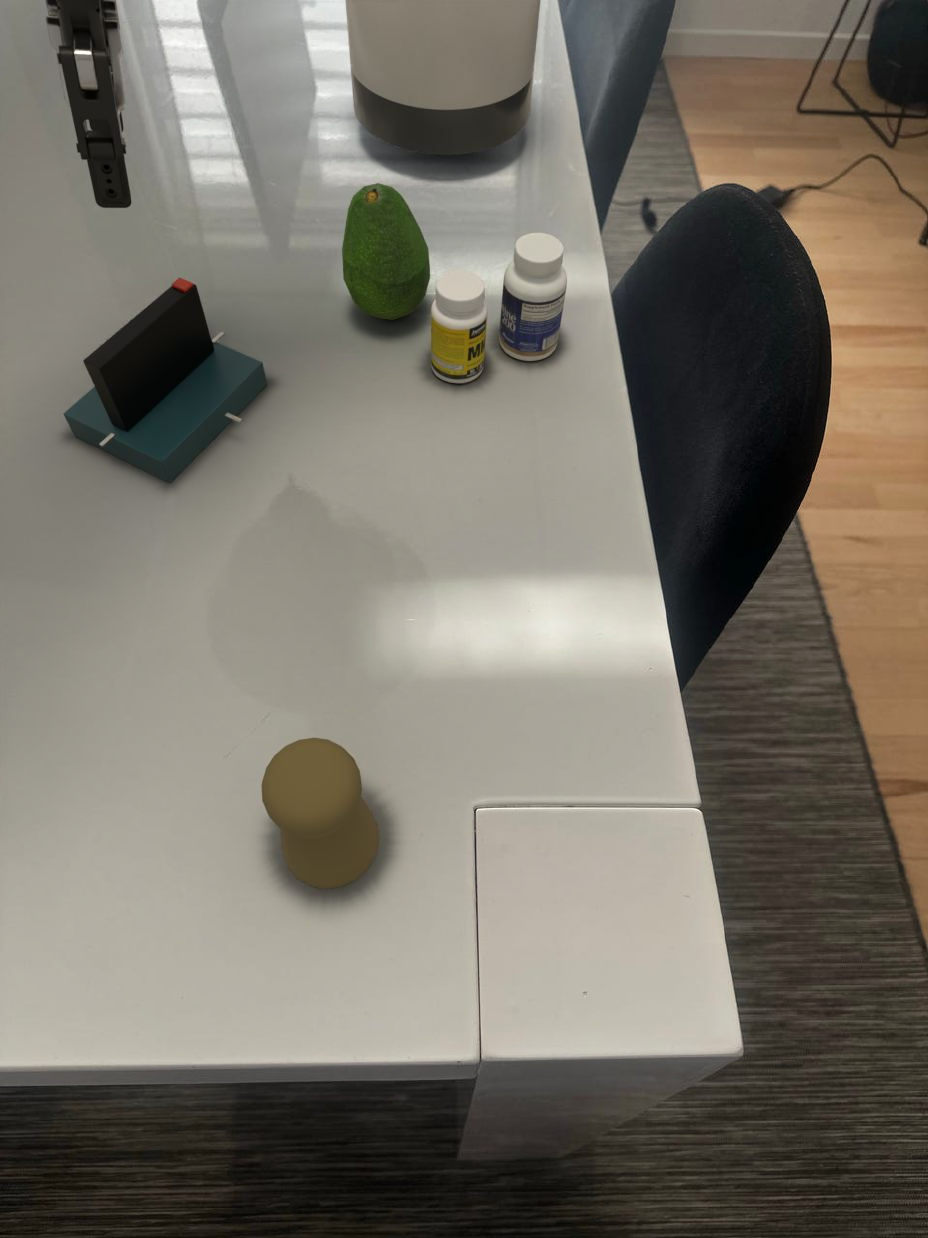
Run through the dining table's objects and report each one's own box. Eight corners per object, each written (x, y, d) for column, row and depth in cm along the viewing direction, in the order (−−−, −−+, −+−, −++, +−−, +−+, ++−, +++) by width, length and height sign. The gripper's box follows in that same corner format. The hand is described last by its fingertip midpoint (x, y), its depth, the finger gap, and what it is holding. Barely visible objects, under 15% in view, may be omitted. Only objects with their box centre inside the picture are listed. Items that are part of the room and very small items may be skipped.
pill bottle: (494, 324, 77) (502, 227, 69) (551, 322, 78) (565, 225, 69) (502, 364, 74) (511, 268, 66) (561, 361, 75) (577, 266, 67)
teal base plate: (187, 505, 65) (178, 483, 63) (40, 432, 69) (27, 408, 66) (300, 387, 72) (295, 363, 70) (161, 326, 76) (153, 302, 73)
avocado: (340, 291, 79) (326, 166, 69) (420, 280, 80) (418, 156, 70) (355, 347, 75) (343, 224, 65) (440, 334, 76) (441, 211, 66)
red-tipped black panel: (127, 432, 65) (98, 365, 60) (111, 425, 66) (81, 357, 60) (215, 350, 71) (195, 281, 65) (200, 344, 71) (179, 274, 65)
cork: (325, 774, 54) (302, 700, 44) (398, 828, 52) (391, 763, 43) (260, 850, 51) (222, 787, 42) (336, 909, 49) (314, 858, 40)
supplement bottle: (473, 391, 73) (477, 310, 65) (422, 376, 73) (421, 295, 66) (491, 356, 75) (497, 274, 68) (442, 342, 76) (443, 260, 69)
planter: (537, 100, 98) (556, -87, 83) (514, 193, 88) (530, 0, 73) (377, 80, 99) (367, -107, 84) (336, 170, 89) (317, -25, 74)
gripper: (-23, -199, 46) (49, 107, 59) (-30, -84, 39) (53, 231, 52) (123, -180, 48) (160, 111, 61) (140, -68, 41) (178, 231, 55)
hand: (111, 166), depth 57 cm, fingers open, 8 cm apart
